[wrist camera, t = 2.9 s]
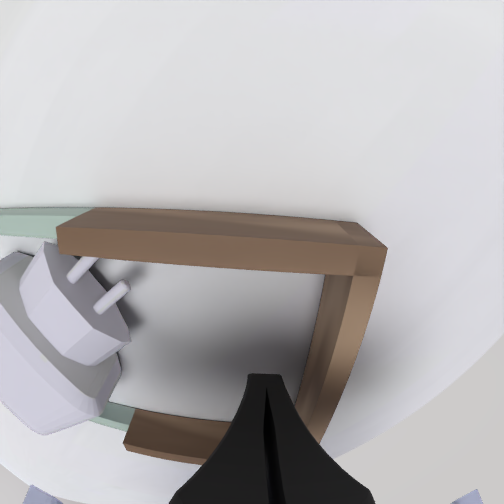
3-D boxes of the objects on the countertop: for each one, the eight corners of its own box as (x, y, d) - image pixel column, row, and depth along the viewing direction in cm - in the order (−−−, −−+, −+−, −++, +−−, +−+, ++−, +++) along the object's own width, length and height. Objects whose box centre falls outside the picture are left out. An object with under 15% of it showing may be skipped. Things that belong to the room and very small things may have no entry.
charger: (201, 318, 13) (68, 399, 16) (77, 168, 11) (-11, 312, 14) (182, 390, 9) (44, 441, 12) (5, 185, 6) (-46, 345, 9)
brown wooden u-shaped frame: (301, 431, 16) (306, 468, 13) (138, 416, 16) (126, 450, 13) (356, 223, 11) (387, 247, 8) (95, 207, 11) (55, 226, 8)
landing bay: (138, 416, 16) (132, 433, 14) (-16, 358, 15) (-24, 367, 14) (95, 207, 11) (77, 215, 9) (-61, 212, 11) (-74, 217, 9)
